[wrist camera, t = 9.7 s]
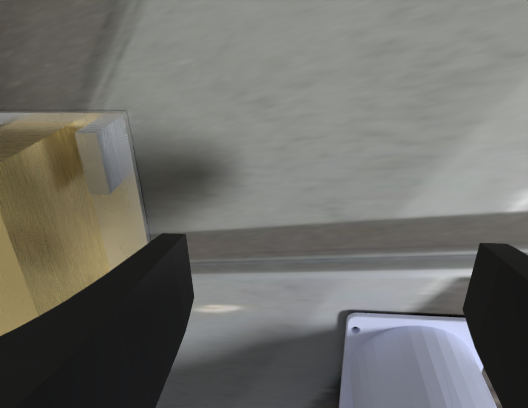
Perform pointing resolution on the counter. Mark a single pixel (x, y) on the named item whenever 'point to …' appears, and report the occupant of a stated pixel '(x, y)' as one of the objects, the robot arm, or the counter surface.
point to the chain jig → (104, 174)
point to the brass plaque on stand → (44, 222)
